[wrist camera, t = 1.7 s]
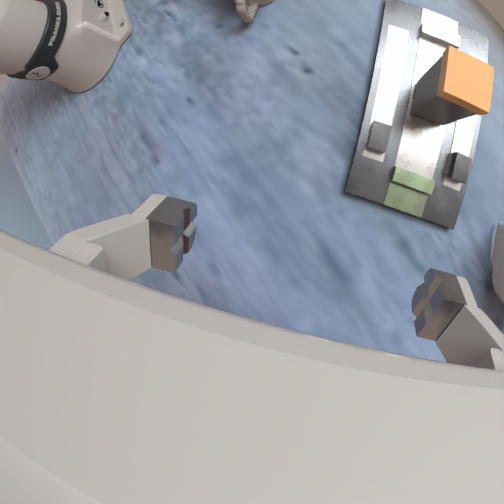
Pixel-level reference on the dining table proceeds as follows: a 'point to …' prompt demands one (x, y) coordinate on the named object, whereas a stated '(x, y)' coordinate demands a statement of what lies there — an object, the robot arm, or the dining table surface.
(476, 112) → the breaker handle
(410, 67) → the breaker panel
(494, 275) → the toilet tissue
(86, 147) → the dining table surface
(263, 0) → the mug
